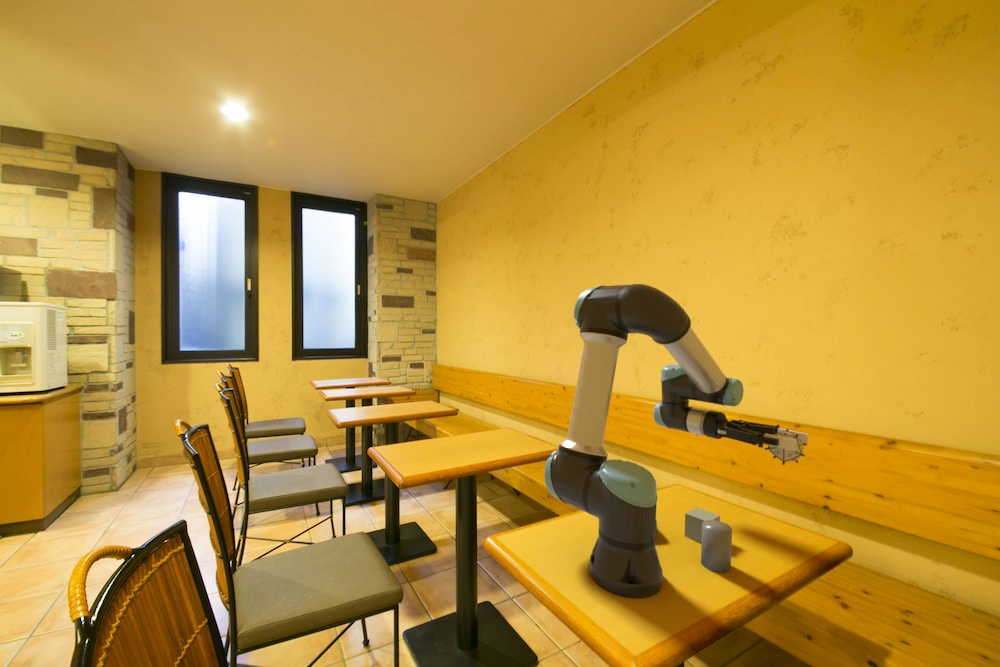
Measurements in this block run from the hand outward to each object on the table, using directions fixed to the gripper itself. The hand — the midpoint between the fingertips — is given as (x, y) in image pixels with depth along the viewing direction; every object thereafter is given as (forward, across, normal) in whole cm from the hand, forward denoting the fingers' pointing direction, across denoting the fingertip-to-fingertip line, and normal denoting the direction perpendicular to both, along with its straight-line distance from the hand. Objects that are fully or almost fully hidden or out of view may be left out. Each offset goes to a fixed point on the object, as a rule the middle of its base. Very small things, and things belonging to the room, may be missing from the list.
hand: (801, 442), depth 103 cm
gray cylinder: (-9, +24, -26) cm, 36 cm away
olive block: (-17, +14, -26) cm, 34 cm away
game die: (-4, -1, -6) cm, 7 cm away
